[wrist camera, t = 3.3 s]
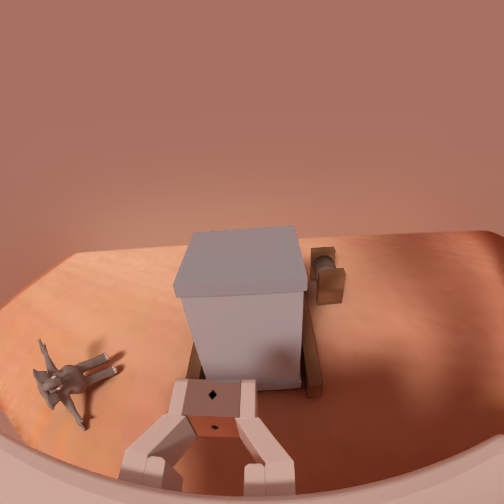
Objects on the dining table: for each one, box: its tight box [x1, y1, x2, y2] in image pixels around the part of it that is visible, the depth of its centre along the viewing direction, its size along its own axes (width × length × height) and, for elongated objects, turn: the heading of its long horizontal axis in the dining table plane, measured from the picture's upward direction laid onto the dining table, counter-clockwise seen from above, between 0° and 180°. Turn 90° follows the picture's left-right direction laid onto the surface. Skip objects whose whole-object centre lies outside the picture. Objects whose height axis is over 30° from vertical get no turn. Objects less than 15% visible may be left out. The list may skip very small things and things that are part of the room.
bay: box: [186, 247, 345, 398], centre depth 30 cm, size 16×19×4 cm
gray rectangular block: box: [173, 226, 308, 391], centre depth 24 cm, size 8×7×12 cm
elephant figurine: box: [33, 339, 117, 431], centre depth 22 cm, size 10×6×9 cm
